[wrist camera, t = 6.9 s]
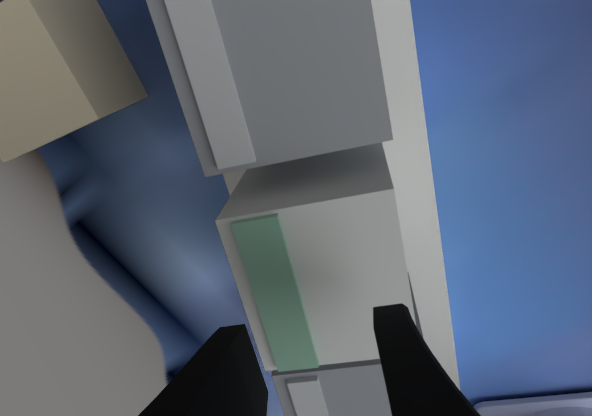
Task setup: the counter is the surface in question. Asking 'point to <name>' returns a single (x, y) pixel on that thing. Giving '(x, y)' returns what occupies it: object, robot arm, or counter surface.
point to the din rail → (316, 137)
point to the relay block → (58, 72)
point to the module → (316, 255)
